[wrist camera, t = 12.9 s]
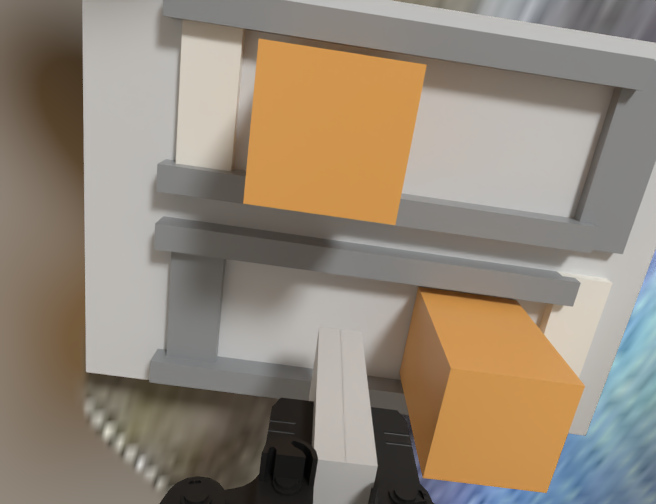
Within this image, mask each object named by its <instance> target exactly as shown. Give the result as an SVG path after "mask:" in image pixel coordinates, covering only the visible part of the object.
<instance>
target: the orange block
mask: <svg viewBox="0 0 656 504" xmlns="http://www.w3.org/2000/svg"><path fill="white" fill-rule="evenodd" d="M426 66H427V65H426V64H420V63H413V62H407V61H400V60H394V59H387V58H381V57H375V56H368V55H362V54H355V53H349V52H343V51H336V50H330V49H323V48H317V47H310V46H304V45H298V44H291V43H285V42H278V41H272V40H265V39H259V40H258V51H257V61H256V72H255V83H254V93H253V104H252V115H251V125H250V136H249V147H248V157H247V168H246V179H245V189H244V200H243V204H249V205H256V206H263V207H271V208H278V209H285V210H292V211H299V212H306V213H313V214H320V215H327V216H334V217H341V218H348V219H355V220H362V221H369V222H376V223H383V224H390V225H396V219H397V214H398V209H399V204H400V199H401V194H402V189H403V184H404V179H405V174H406V168H407V163H408V158H409V153H410V148H411V143H412V138H413V133H414V128H415V123H416V117H417V112H418V107H419V102H420V97H421V92H422V87H423V82H424V77H425V72H426Z"/></svg>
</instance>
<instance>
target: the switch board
mask: <svg viewBox="0 0 656 504" xmlns="http://www.w3.org/2000/svg"><path fill="white" fill-rule="evenodd" d="M82 20H83V21H82V23H83V117H84V118H83V120H84V213H85V214H84V220H85V312H86V313H85V315H86V372H90V373H97V374H105V375H113V376H121V377H129V378H137V379H145V380H149V382H151V383H158V384H166V385H174V386H182V387H190V388H198V389H206V390H214V391H222V392H229V393H237V394H245V395H253V396H261V397H269V398H277V399H280V398H289V399H298V400H306V401H309V393H310V386H311V379H312V372H313V366H314V359H315V352H316V345H317V339H318V332H319V327H327V328H335V329H343V330H351V331H359V332H362V339H363V348H364V356H365V364H366V373H367V381H368V389H369V398H370V406H371V407H375V408H383V409H391V410H398V412H399V413H400V414H403V415H409V414H408V409H407V405H406V400H405V396H404V391H403V387H402V382H401V378H400V373H399V372H400V368H401V363H402V359H403V354H404V350H405V345H406V340H407V336H408V331H409V327H410V322H411V318H412V313H413V309H414V304H415V300H416V295H417V291H418V287H425V288H432V289H440V290H447V291H454V292H462V293H469V294H476V295H483V296H491V297H498V298H505V299H512V300H517V301H518V303H519V304H520V305H521V306H522V308H523V309H524V310H525V311H526V313H527V314H528V315H529V316H530V318H531V319H532V320H533V321H534V323H535V324H536V325H537V326H538V328H539V329H540V330H541V331H542V333H543V334H544V335H545V336H546V338H547V339H548V340H549V341H550V343H551V344H552V345H553V346H554V348H555V349H556V350H557V351H558V353H559V354H560V355H561V356H562V358H563V359H564V360H565V361H566V363H567V364H568V365H569V366H570V368H571V369H572V370H573V371H574V373H575V374H576V375H577V376H578V378H579V379H580V380H581V381H582V383H583V384H584V385H585V388H584V390H583V393H582V396H581V399H580V402H579V404H578V407H577V410H576V413H575V415H574V418H573V421H572V424H571V427H570V429H569V432H568V433H570V434H577V435H585V436H586V433H587V430H588V428H589V425H590V422H591V420H592V417H593V414H594V412H595V409H596V406H597V404H598V401H599V398H600V396H601V393H602V390H603V388H604V385H605V382H606V380H607V377H608V374H609V372H610V369H611V366H612V364H613V361H614V358H615V356H616V353H617V350H618V348H619V345H620V342H621V340H622V337H623V334H624V332H625V329H626V326H627V324H628V321H629V318H630V316H631V313H632V310H633V308H634V305H635V302H636V300H637V297H638V294H639V292H640V289H641V286H642V284H643V281H644V278H645V276H646V273H647V270H648V268H649V265H650V262H651V260H652V257H653V254H654V252H655V249H656V43H653V42H647V41H640V40H634V39H628V38H622V37H615V36H609V35H603V34H597V33H590V32H584V31H578V30H572V29H566V28H559V27H553V26H547V25H541V24H534V23H528V22H522V21H516V20H509V19H503V18H497V17H491V16H485V15H478V14H472V13H466V12H460V11H453V10H447V9H441V8H435V7H428V6H422V5H416V4H410V3H404V2H397V1H391V0H82ZM259 39H265V40H272V41H278V42H285V43H291V44H298V45H304V46H310V47H317V48H323V49H330V50H336V51H343V52H349V53H355V54H362V55H368V56H375V57H381V58H387V59H394V60H400V61H407V62H413V63H420V64H426V65H427V66H426V72H425V77H424V82H423V87H422V92H421V97H420V102H419V107H418V112H417V117H416V123H415V128H414V133H413V138H412V143H411V148H410V153H409V158H408V163H407V168H406V174H405V179H404V184H403V189H402V194H401V199H400V204H399V209H398V214H397V219H396V225H390V224H383V223H376V222H369V221H362V220H355V219H348V218H341V217H334V216H327V215H320V214H313V213H306V212H299V211H292V210H285V209H278V208H271V207H263V206H256V205H249V204H243V200H244V189H245V179H246V168H247V157H248V147H249V136H250V125H251V115H252V104H253V93H254V83H255V72H256V61H257V51H258V40H259Z"/></svg>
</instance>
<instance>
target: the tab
mask: <svg viewBox="0 0 656 504" xmlns="http://www.w3.org/2000/svg"><path fill="white" fill-rule="evenodd" d="M399 373H400V378H401V382H402V387H403V391H404V396H405V400H406V405H407V409H408V414H409V418H410V423H411V427H412V432H413V436H414V440H415V445H416V449H417V454H418V458H419V463H420V467H421V472H422V476H423V478H428V479H437V480H445V481H453V482H461V483H469V484H478V485H486V486H494V487H502V488H510V489H519V490H527V491H535V492H543V493H547V490H548V488H549V485H550V482H551V479H552V476H553V474H554V471H555V468H556V465H557V463H558V460H559V457H560V454H561V451H562V449H563V446H564V443H565V440H566V438H567V435H568V432H569V429H570V427H571V424H572V421H573V418H574V415H575V413H576V410H577V407H578V404H579V402H580V399H581V396H582V393H583V390H584V388H585V385H584V384H583V383H582V381H581V380H580V379H579V378H578V376H577V375H576V374H575V373H574V371H573V370H572V369H571V368H570V366H569V365H568V364H567V363H566V361H565V360H564V359H563V358H562V356H561V355H560V354H559V353H558V351H557V350H556V349H555V348H554V346H553V345H552V344H551V343H550V341H549V340H548V339H547V338H546V336H545V335H544V334H543V333H542V331H541V330H540V329H539V328H538V326H537V325H536V324H535V323H534V321H533V320H532V319H531V318H530V316H529V315H528V314H527V313H526V311H525V310H524V309H523V308H522V306H521V305H520V304H519V303H518V301H517V300H512V299H505V298H498V297H491V296H483V295H476V294H469V293H462V292H454V291H447V290H440V289H432V288H425V287H418V291H417V295H416V300H415V304H414V309H413V313H412V318H411V322H410V327H409V331H408V336H407V340H406V345H405V350H404V354H403V359H402V363H401V368H400V372H399Z"/></svg>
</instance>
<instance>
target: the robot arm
mask: <svg viewBox="0 0 656 504" xmlns="http://www.w3.org/2000/svg"><path fill="white" fill-rule="evenodd" d="M160 504H434V503H433V502H432V500H431V498H430V496H429V494H428V492H427V491H426V490H425V489H424V487H423V486H422V485H421V484H420V482H419V478H418V473H417V468H416V464H415V459H414V455H413V450H412V447H411V441H410V437H409V431H408V427H407V422H406V421H405V419H404V418H403V417H402V416H401V414H400V413H399V412H398V410H391V409H383V408H375V407H371V406H370V398H369V389H368V381H367V373H366V364H365V356H364V348H363V339H362V332H359V331H351V330H343V329H335V328H327V327H319V332H318V339H317V345H316V352H315V359H314V366H313V372H312V379H311V386H310V393H309V401H306V400H298V399H289V398H280V399H279V400H278V401H277V403H276V404H275V405H274V406H273V407H272V412H271V417H270V423H269V429H268V435H267V441H266V445H265V447H264V449H263V451H262V456H261V464H260V473H259V475H258V476H257V478H256V479H254V480H253V481H252V482H251V483H249V484H247V485H245V486H243V487H239V488H235V489H229V490H224V489H223V488H222V486H221V485H220V484H219V483H218V482H216V481H214V480H212V479H210V478H205V477H192V478H186V479H184V480H182V481H180V482H178V483H176V484H175V485H174V486H173V487H172V488H171V489H170V490H169V491H168V493H167V494H166V495H165V497H164V498H163V499H162V501H161V502H160Z"/></svg>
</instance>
